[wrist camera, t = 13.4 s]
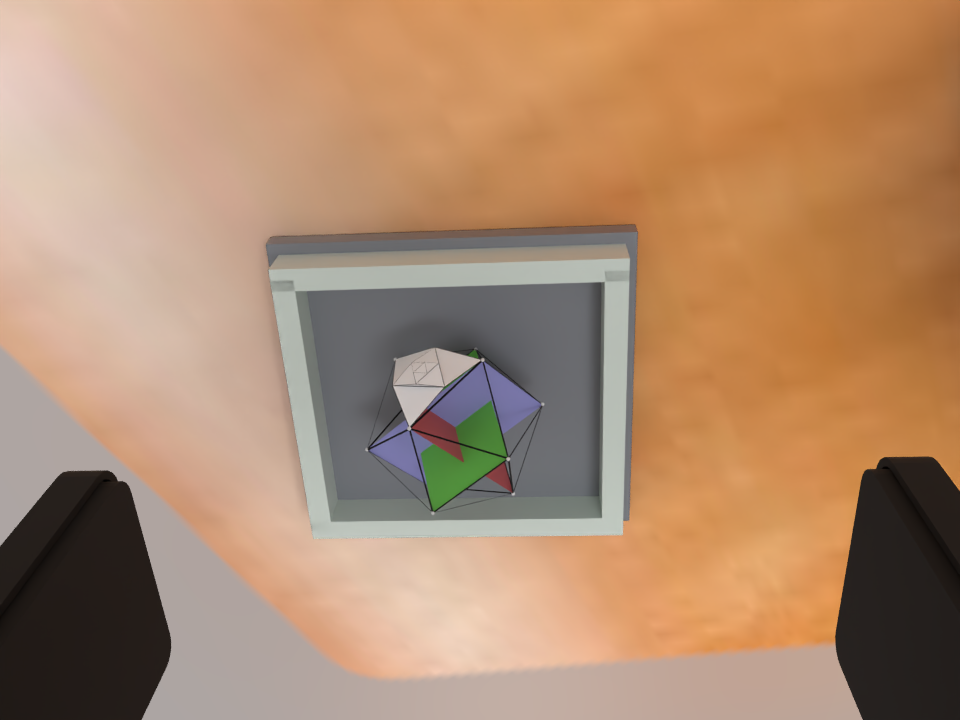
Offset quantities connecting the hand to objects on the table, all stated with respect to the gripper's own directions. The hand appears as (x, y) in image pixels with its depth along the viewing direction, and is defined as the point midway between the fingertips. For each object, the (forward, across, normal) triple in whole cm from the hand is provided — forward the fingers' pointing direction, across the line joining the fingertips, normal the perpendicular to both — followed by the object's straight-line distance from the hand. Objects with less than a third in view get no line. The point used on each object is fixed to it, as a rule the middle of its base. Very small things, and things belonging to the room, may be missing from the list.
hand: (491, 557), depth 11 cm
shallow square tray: (+28, +3, +12) cm, 31 cm away
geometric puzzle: (+28, +3, +12) cm, 30 cm away
